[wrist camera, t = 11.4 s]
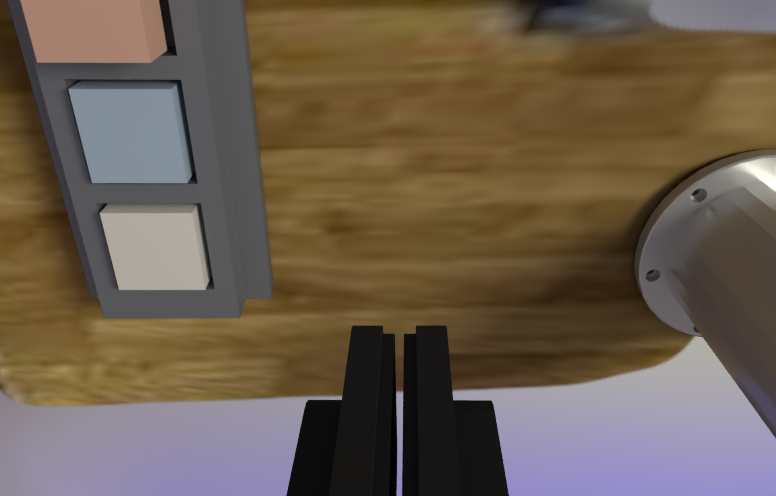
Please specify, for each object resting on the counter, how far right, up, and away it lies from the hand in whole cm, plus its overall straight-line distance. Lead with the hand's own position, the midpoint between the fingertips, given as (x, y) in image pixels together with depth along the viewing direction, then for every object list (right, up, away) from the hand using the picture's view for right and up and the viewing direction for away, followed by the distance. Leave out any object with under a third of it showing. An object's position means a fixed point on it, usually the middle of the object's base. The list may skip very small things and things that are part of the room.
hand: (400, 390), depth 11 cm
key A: (-13, +3, +24) cm, 28 cm away
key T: (-13, +9, +21) cm, 26 cm away
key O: (-13, +14, +16) cm, 25 cm away
